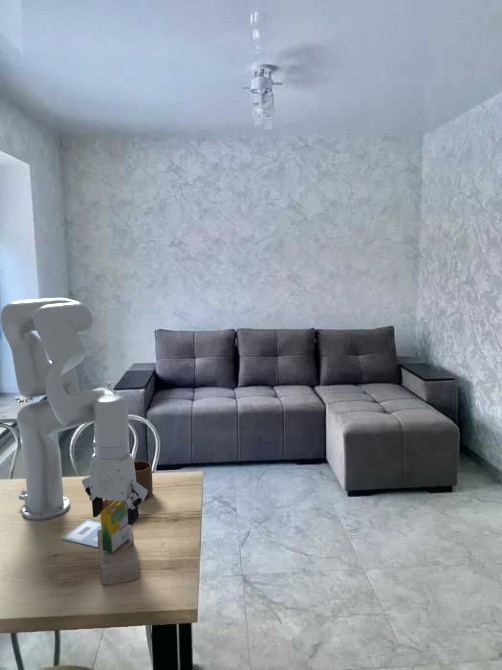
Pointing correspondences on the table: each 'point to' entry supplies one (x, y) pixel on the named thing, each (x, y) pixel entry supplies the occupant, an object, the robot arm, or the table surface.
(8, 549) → the table surface
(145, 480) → the mug
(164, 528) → the table surface
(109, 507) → the crayon box
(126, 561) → the brick
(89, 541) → the plan sheet
